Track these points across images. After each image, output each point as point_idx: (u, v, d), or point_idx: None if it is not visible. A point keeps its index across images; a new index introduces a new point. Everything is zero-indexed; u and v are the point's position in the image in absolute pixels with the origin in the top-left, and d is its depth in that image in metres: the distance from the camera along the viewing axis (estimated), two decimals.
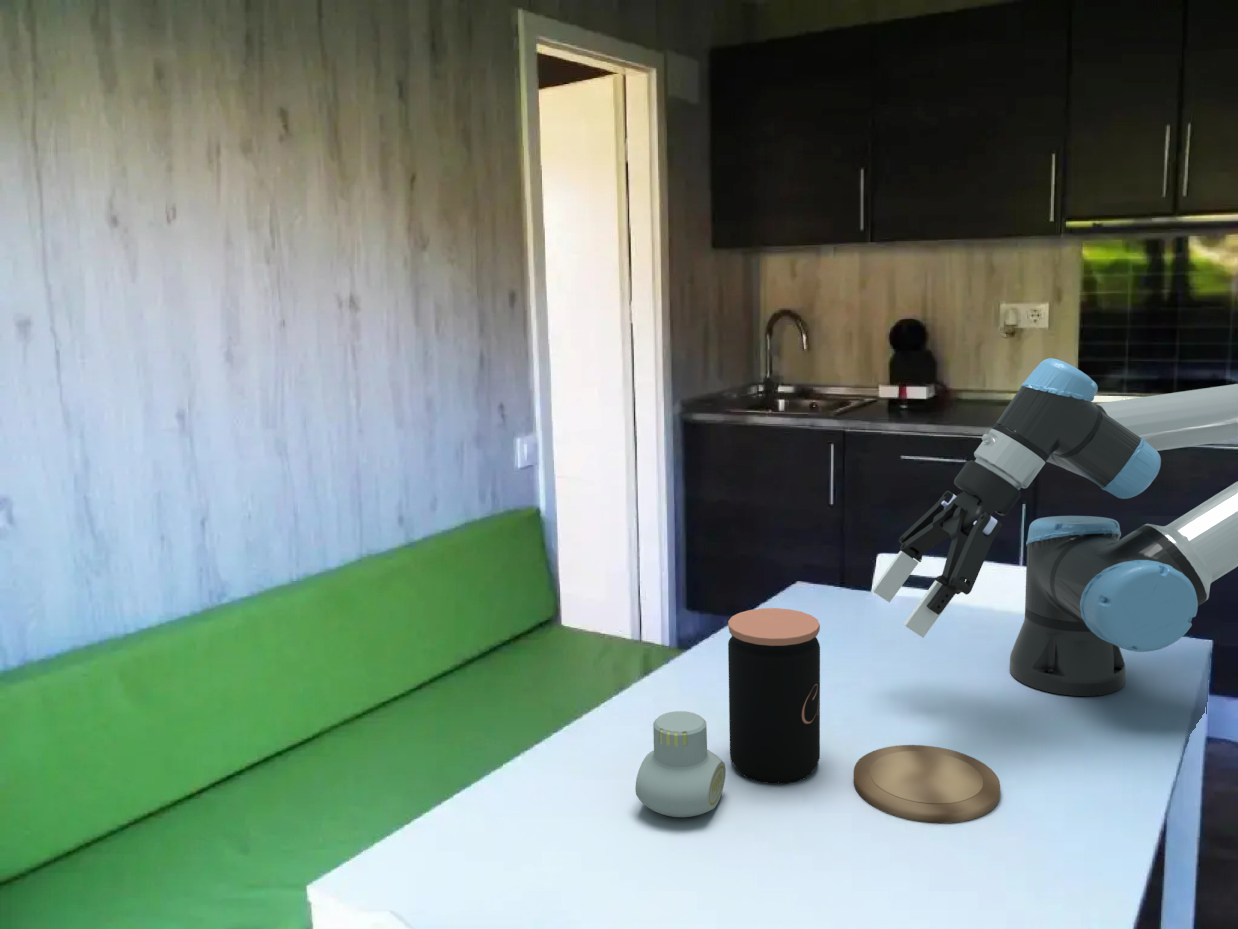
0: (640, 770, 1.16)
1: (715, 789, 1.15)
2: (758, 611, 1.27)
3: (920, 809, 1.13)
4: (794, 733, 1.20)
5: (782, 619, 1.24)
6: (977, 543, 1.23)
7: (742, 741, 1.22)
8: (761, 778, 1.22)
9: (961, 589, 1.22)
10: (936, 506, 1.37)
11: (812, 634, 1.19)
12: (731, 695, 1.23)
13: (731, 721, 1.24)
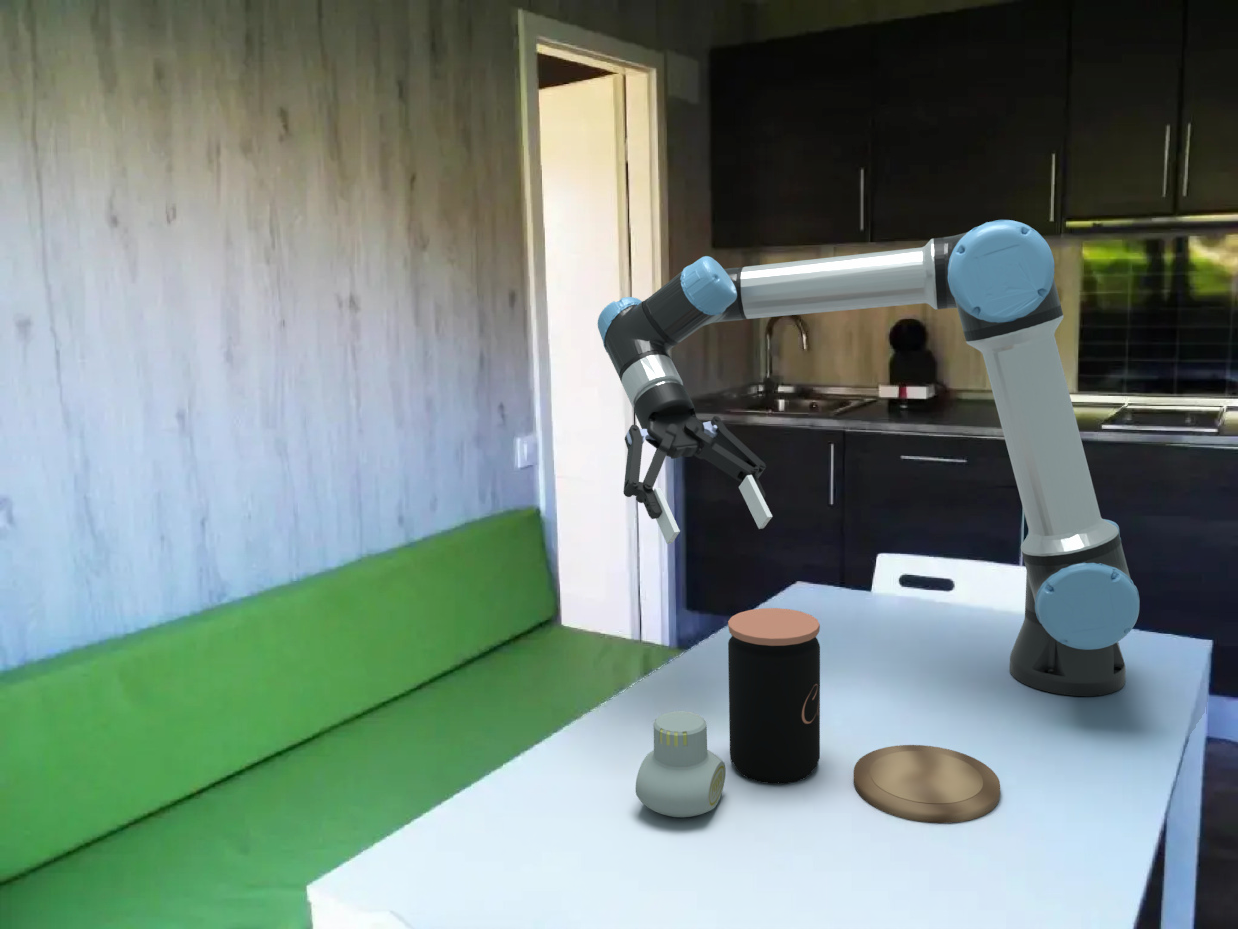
0: (640, 770, 1.16)
1: (715, 789, 1.15)
2: (758, 611, 1.27)
3: (920, 809, 1.13)
4: (794, 733, 1.20)
5: (782, 619, 1.24)
6: (628, 455, 1.34)
7: (742, 741, 1.22)
8: (761, 778, 1.22)
9: (629, 489, 1.30)
10: None
11: (812, 634, 1.19)
12: (731, 695, 1.23)
13: (731, 721, 1.24)
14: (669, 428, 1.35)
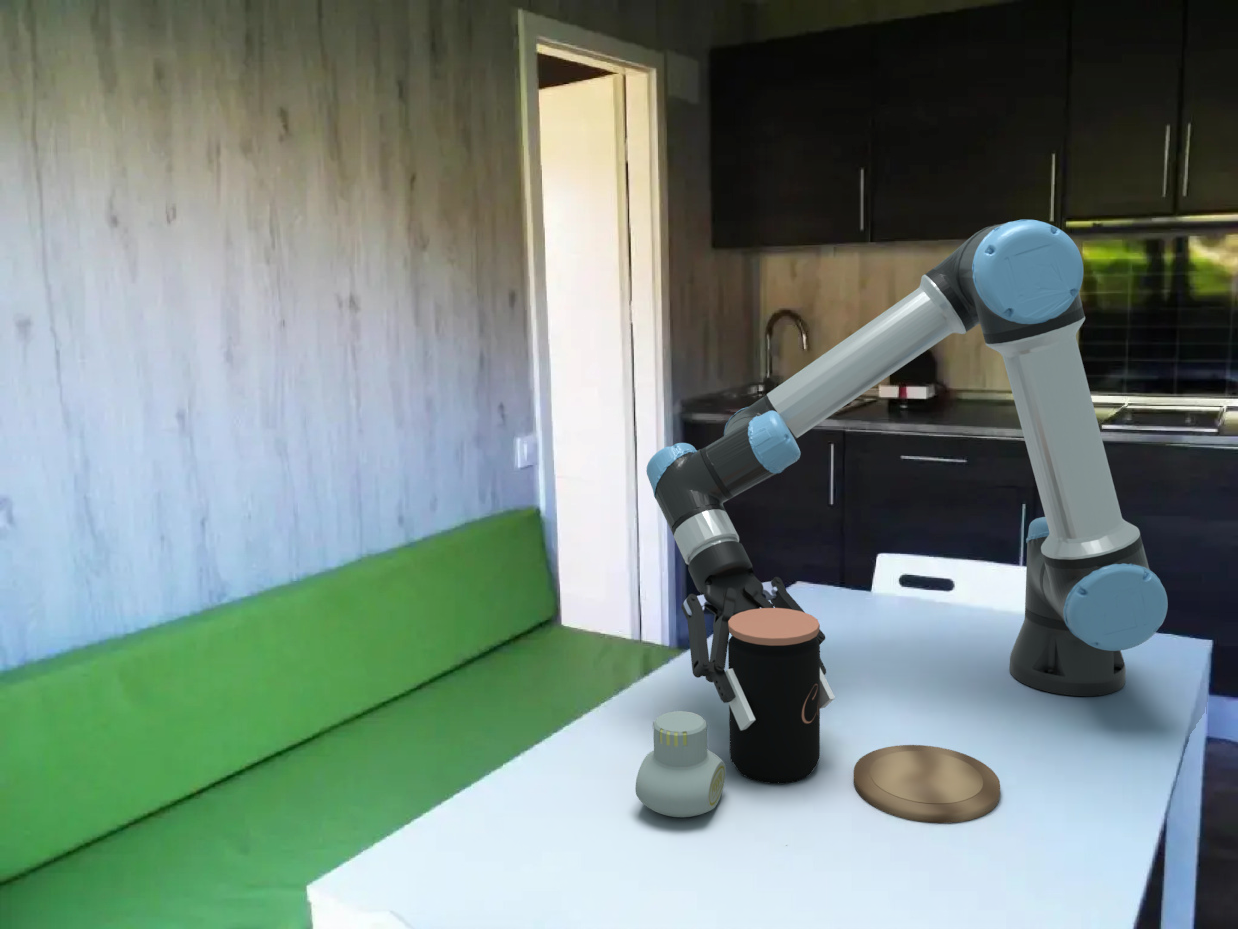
0: (640, 770, 1.16)
1: (715, 789, 1.15)
2: (758, 611, 1.27)
3: (920, 809, 1.13)
4: (794, 733, 1.20)
5: (782, 619, 1.24)
6: (690, 628, 1.26)
7: (742, 741, 1.22)
8: (761, 778, 1.22)
9: (699, 671, 1.22)
10: None
11: (812, 634, 1.19)
12: None
13: (731, 721, 1.24)
14: (728, 594, 1.28)
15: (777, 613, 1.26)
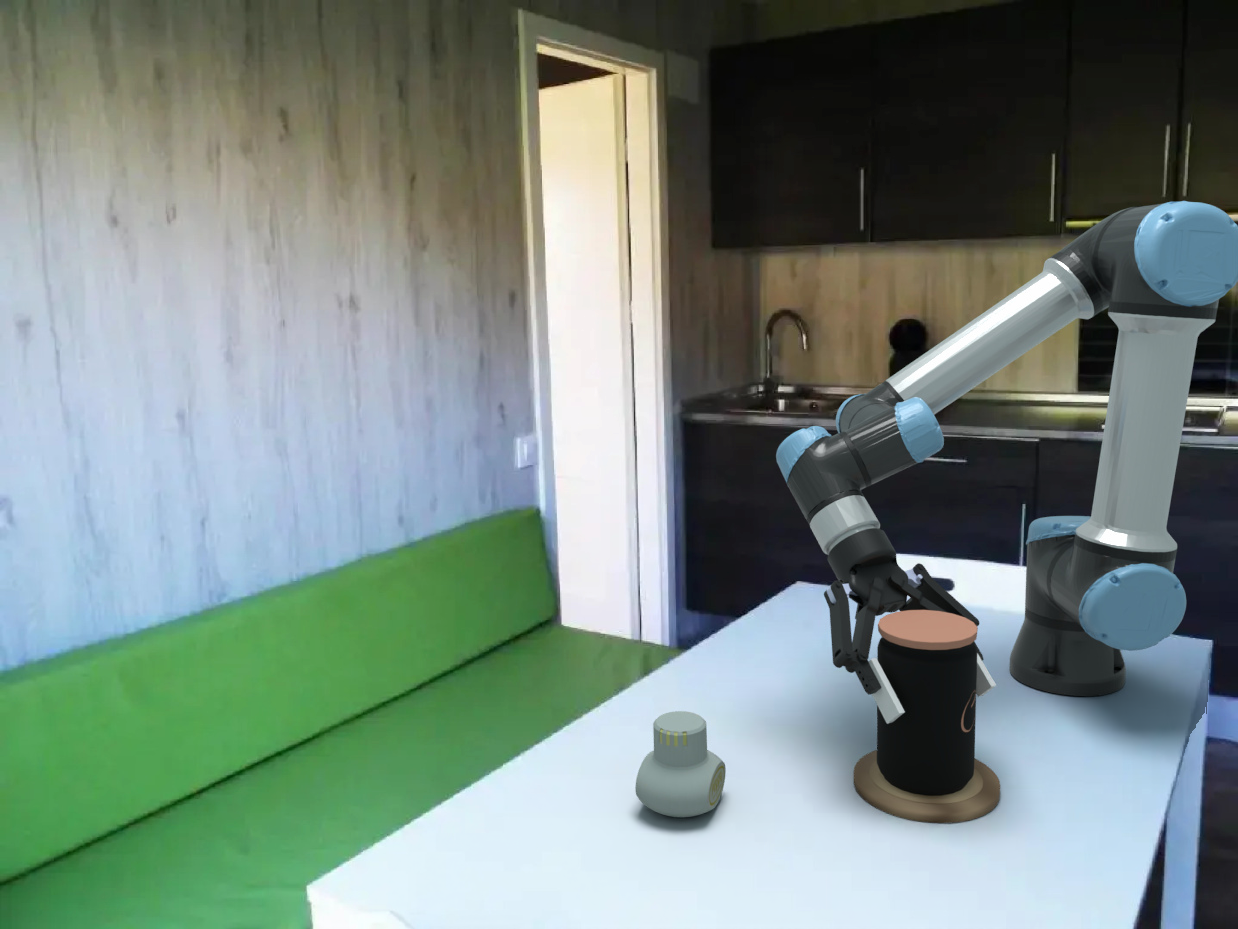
0: (640, 770, 1.16)
1: (715, 789, 1.15)
2: (906, 613, 1.20)
3: (920, 809, 1.13)
4: (953, 742, 1.14)
5: (936, 622, 1.17)
6: (833, 616, 1.19)
7: (895, 751, 1.16)
8: (916, 790, 1.15)
9: (841, 661, 1.15)
10: None
11: (972, 637, 1.13)
12: None
13: (881, 729, 1.18)
14: (875, 583, 1.21)
15: (928, 615, 1.19)
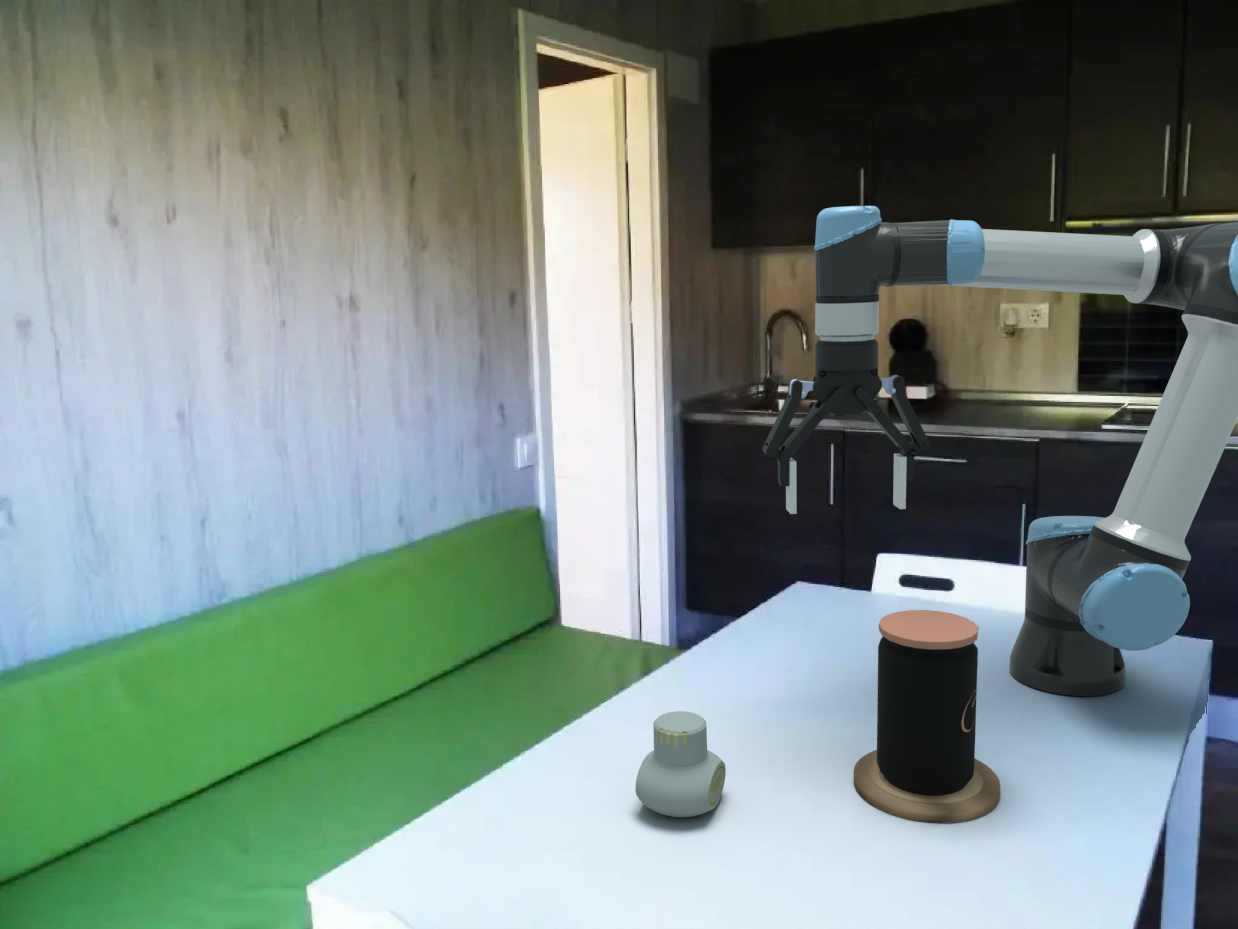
0: (640, 770, 1.16)
1: (715, 789, 1.15)
2: (907, 613, 1.20)
3: (920, 809, 1.13)
4: (953, 742, 1.14)
5: (936, 622, 1.17)
6: (783, 408, 1.29)
7: (896, 750, 1.16)
8: (916, 789, 1.15)
9: (765, 453, 1.29)
10: None
11: (973, 637, 1.13)
12: (882, 701, 1.17)
13: (882, 729, 1.18)
14: (834, 394, 1.26)
15: (928, 615, 1.19)
